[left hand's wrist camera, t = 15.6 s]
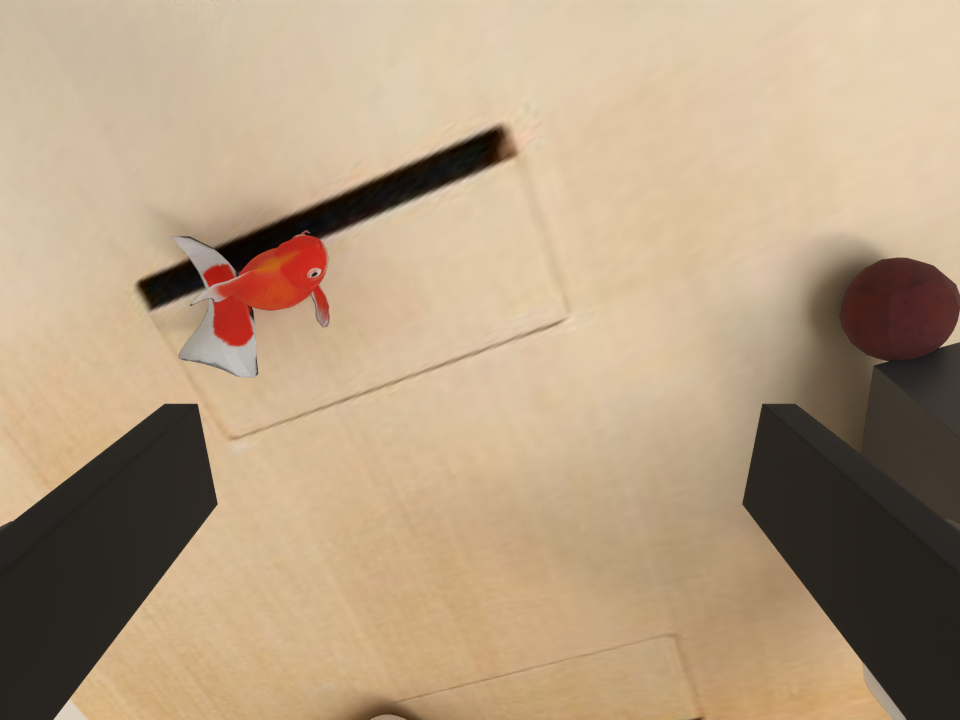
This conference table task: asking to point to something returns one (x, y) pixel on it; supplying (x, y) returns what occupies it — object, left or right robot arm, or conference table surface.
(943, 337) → the potato
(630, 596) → the conference table surface
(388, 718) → the projector
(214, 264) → the fish
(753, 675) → the conference table surface
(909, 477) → the box
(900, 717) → the right robot arm
